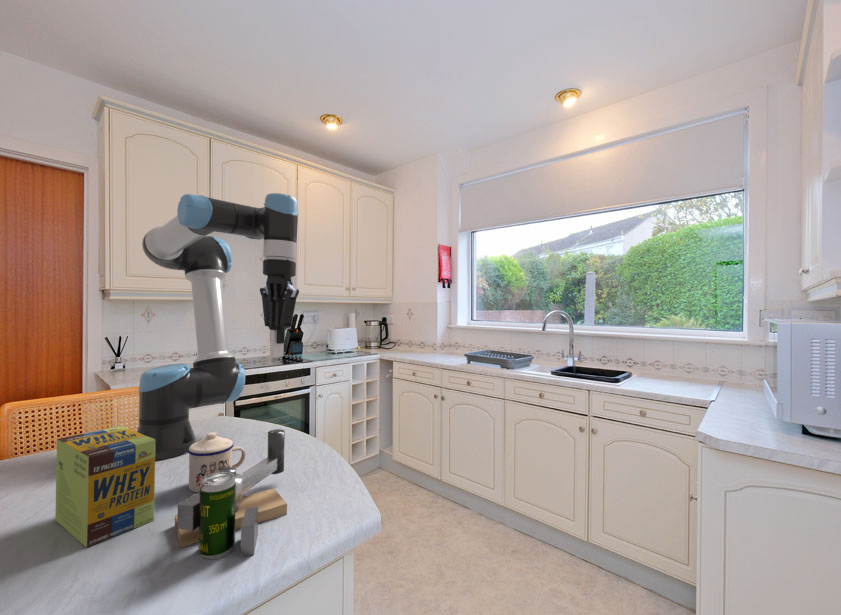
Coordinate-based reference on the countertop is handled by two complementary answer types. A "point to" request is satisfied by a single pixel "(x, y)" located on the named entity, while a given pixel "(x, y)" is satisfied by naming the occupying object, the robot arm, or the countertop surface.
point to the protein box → (104, 483)
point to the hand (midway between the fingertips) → (276, 356)
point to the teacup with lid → (210, 458)
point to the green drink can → (217, 515)
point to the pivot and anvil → (247, 524)
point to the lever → (239, 480)
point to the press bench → (267, 506)
